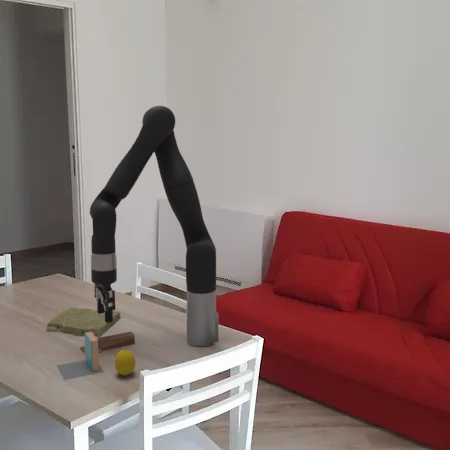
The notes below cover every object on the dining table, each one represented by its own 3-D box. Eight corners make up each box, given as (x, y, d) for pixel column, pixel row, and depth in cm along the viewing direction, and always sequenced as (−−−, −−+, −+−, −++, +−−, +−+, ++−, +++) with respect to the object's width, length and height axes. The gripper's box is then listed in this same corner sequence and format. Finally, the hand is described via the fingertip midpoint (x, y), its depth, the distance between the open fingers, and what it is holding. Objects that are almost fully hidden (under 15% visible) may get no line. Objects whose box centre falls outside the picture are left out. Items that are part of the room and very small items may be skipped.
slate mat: (94, 359, 171) (94, 358, 171) (104, 372, 163) (104, 371, 163) (56, 366, 166) (56, 365, 166) (64, 381, 158) (64, 379, 158)
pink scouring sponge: (92, 360, 169) (91, 331, 168) (99, 370, 163) (97, 340, 162) (85, 362, 169) (84, 332, 167) (92, 371, 162) (90, 341, 161)
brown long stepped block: (136, 346, 181) (136, 336, 180) (85, 357, 173) (85, 346, 172) (129, 340, 186) (129, 329, 185) (80, 350, 178) (79, 339, 177)
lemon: (136, 371, 164) (135, 344, 162) (134, 380, 158) (133, 353, 157) (116, 371, 163) (116, 345, 162) (113, 380, 158) (112, 353, 156)
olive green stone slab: (68, 314, 209) (68, 305, 209) (121, 319, 205) (120, 309, 205) (42, 334, 191) (42, 324, 191) (99, 339, 187) (99, 329, 187)
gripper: (123, 271, 169) (123, 323, 173) (109, 259, 182) (110, 308, 185) (97, 274, 166) (99, 327, 169) (85, 261, 178) (86, 311, 182)
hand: (104, 317), depth 177 cm, fingers open, 8 cm apart
